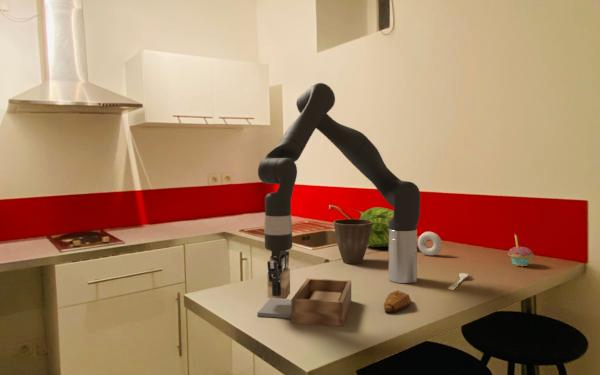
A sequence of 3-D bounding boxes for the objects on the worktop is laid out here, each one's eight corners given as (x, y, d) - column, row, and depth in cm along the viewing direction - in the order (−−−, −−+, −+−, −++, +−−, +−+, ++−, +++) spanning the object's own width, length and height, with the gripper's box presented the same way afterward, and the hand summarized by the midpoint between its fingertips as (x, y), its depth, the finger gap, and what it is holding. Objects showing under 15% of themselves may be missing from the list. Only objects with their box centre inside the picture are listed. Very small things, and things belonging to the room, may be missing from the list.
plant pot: (369, 257, 188) (369, 218, 186) (374, 266, 173) (374, 224, 172) (333, 257, 188) (332, 218, 187) (334, 266, 173) (334, 224, 172)
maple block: (290, 293, 128) (289, 268, 127) (285, 298, 123) (285, 273, 122) (272, 292, 129) (272, 267, 128) (267, 297, 124) (267, 272, 123)
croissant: (399, 317, 120) (399, 298, 119) (375, 312, 124) (375, 294, 123) (418, 303, 131) (418, 286, 130) (396, 299, 135) (396, 282, 134)
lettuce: (398, 254, 192) (398, 211, 190) (350, 248, 206) (350, 208, 205) (417, 247, 206) (417, 207, 205) (371, 241, 221) (371, 204, 220)
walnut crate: (351, 300, 133) (351, 280, 132) (342, 326, 113) (342, 302, 113) (307, 298, 136) (307, 278, 135) (291, 322, 116) (291, 299, 116)
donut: (442, 256, 188) (443, 232, 187) (440, 257, 185) (440, 233, 184) (419, 253, 194) (419, 230, 193) (416, 255, 191) (416, 231, 190)
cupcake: (508, 267, 169) (508, 235, 168) (507, 262, 176) (507, 231, 176) (534, 269, 165) (535, 236, 164) (532, 263, 173) (532, 232, 172)
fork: (445, 297, 143) (445, 289, 142) (464, 275, 160) (464, 268, 159) (454, 299, 141) (454, 290, 141) (472, 276, 158) (472, 269, 158)
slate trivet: (300, 303, 131) (300, 300, 131) (290, 318, 119) (290, 314, 119) (270, 301, 133) (270, 298, 133) (257, 316, 121) (257, 312, 121)
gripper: (285, 236, 117) (286, 301, 118) (297, 227, 131) (298, 286, 132) (257, 235, 118) (258, 300, 120) (272, 226, 132) (273, 284, 134)
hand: (279, 292), depth 126 cm, fingers closed on maple block, 5 cm apart
